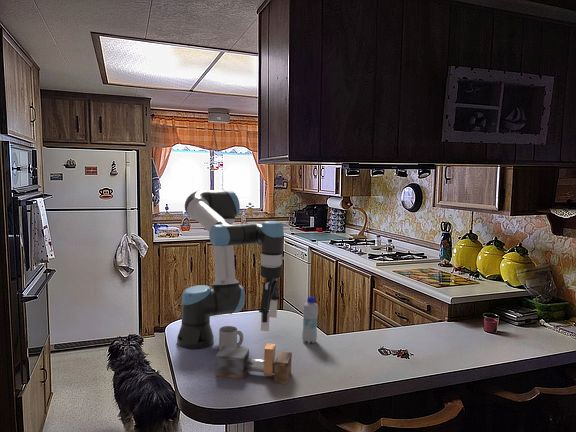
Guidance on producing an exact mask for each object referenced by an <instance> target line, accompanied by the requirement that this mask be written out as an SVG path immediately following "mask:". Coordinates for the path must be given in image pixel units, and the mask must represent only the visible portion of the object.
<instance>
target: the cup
mask: <svg viewBox="0 0 576 432" xmlns="http://www.w3.org/2000/svg"><path fill="white" fill-rule="evenodd" d="M218 332H219V333H218V334H219V335H218V338H219V339H218V340H219V341H218V350H219V351H220V349H221V348H222V347H223V346H228V347H238V348H239V347H240V346H241V345H243V342H244V334H243V331H241V330H238V327H236V326H233V325H232V326H231V325H225V326H222V327H220V328H219V331H218ZM238 336H239V341H238ZM219 351H218V352H219Z"/></svg>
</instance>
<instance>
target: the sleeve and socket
mask: <svg viewBox="0 0 576 432" xmlns="http://www.w3.org/2000/svg"><path fill="white" fill-rule="evenodd" d="M245 358H250V348H245V347H239V346H238V347H228V346H223V347H222V348H221V349H220V351H218V352H217V353H216V354H215V366H214V367H215V373H214V376H215V377H225V378H233V379H238V380H239V379H240V380H242V379H243V378H244V376H245V375H246V373H247V372H248V371H245V370H244V359H245ZM292 358H293V352H291V351H290V352H289V351H288V352H287V351H281V350H280V351H279V352H278V354H277V356H276V357H275V372H274V374H273V375H274V376H273V380H274V381H273V382H274V384H282V385H288V381H289V380H290V376H291V374H292Z"/></svg>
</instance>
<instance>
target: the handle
mask: <svg viewBox="0 0 576 432" xmlns="http://www.w3.org/2000/svg"><path fill="white" fill-rule="evenodd" d="M276 345H277V343H267V344H266V345H265V347H264V353H263V354H264V356H263V357H264V359H263V358H252V357H249V358H245V359H244V370H245V371H247V372H256V373H263V376H266V377H273V375H274V372H275V360H276V349H277V348H276V347H277V346H276Z"/></svg>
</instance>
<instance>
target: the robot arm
mask: <svg viewBox="0 0 576 432" xmlns="http://www.w3.org/2000/svg"><path fill="white" fill-rule="evenodd" d="M185 199H186V200H185V203H184V211H185V213H186V215H187V216H188V217H189V218H190V219H192V220H194V221H197V222H198V223H199V224H200V225H201V226H202V227H203V228H204V229H205V230H206V231H207V232H208V234H209V236H208V238H209V241H210V244H211V245H212V246H213V254H214V255H213V258H214V274H215V277H214V278H215V280H214V281H213V282H212V284H211V285H212V288H211V287H210V286H209V285H206V284H202V285H201V284H199V285H194V286H189V287H188V288H186V289H184V291H182V294H181V301H180V302H181V325H180V329H179V331H178V334H177V337H176V343H177V345H178V346H179V347H180V348H184V349H189V350H197V349H199V350H200V349H204V348H207V347H209V346H211V345H212V344H213V343H214V342H215V341H214V339H215V338H214V337H215V336H214V333H213V330H212V327H211V323H210V322H211V317H216V316H223V315H232V314H234V313H239V312H241V311H242V309H243V308H244V305H245V301H246V293H245V292H246V291H245V289H244V287H243V285H241V284H240V281H239V280H238V279H236V269H235V266H236V265H235V251H234V249H235V248H234V246H244V245H260V247H261V250H260V265H261V266H260V271H259V272H260V276H261V277H262V278H264V279H265V281H264V282H263V283H262V293H261V301H260V308H259V310H258V313H261V315H260V316H261V318H260V331H262V332H263V331H264V332H269V331H270V318H275V319H276V318H277V316H278V315H277V314H278V313H277V312H278V300H280V296H279V295H280V293H279V282H278V278H281V277H282V275H283V274H282V273H283V272H282V271H283V267H282V265H283V260H284V259H285V257H284V256H283V249H284V235H285V233H284V232H285V231H284V223H283V222H281V221H277V220H265V221H263V222H262V223H261V222H259V221H257V222H256V221H252V222H250V223H238V224H237V223H235V221H236V217H238V216H239V214H240V210H241V207H240V206H241V205H240V200H239V197H238V196H237V194H236V193H235V191H232V190H226V189H223V190H221V189H220V190H218V189H216V190H215V189H214V190H212V189H208V190H205V189H201V190H197V191H194V192H192V193H190V194H189V196H188V197H187V198H185Z"/></svg>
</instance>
